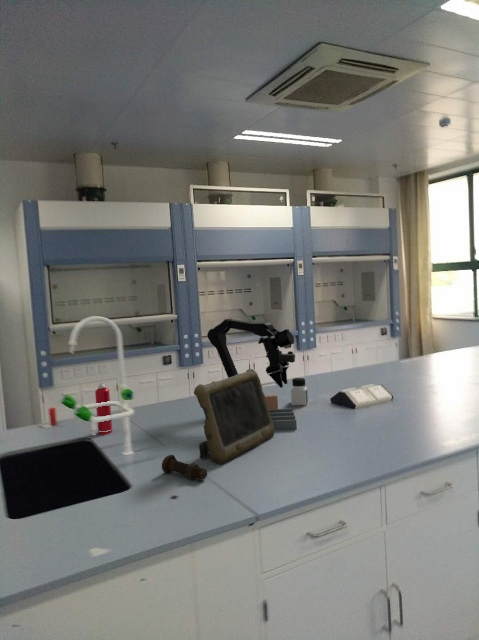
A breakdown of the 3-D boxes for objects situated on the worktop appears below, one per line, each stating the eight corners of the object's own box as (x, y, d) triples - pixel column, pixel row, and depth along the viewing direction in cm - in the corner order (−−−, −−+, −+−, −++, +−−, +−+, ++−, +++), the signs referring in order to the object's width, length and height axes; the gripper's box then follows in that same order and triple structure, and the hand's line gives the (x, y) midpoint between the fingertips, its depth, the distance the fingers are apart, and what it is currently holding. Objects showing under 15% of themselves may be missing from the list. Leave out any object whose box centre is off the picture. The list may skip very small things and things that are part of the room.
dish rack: (260, 430, 173) (259, 421, 172) (259, 418, 189) (259, 409, 189) (296, 429, 172) (296, 420, 172) (293, 416, 189) (292, 408, 189)
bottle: (108, 429, 185) (104, 381, 184) (114, 431, 181) (111, 383, 180) (95, 432, 181) (92, 384, 180) (102, 435, 178) (98, 385, 176)
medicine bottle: (307, 405, 206) (305, 379, 205) (291, 405, 207) (290, 379, 207) (307, 401, 213) (306, 376, 212) (292, 401, 214) (291, 376, 214)
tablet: (229, 467, 139) (224, 388, 137) (193, 460, 146) (189, 385, 145) (277, 435, 167) (273, 369, 165) (245, 430, 174) (241, 367, 172)
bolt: (203, 488, 129) (166, 476, 138) (212, 474, 133) (175, 463, 141) (196, 475, 127) (158, 463, 135) (205, 461, 130) (168, 451, 139)
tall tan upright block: (259, 415, 194) (258, 397, 194) (259, 413, 197) (258, 395, 197) (278, 414, 194) (277, 396, 194) (277, 412, 197) (276, 394, 197)
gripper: (285, 346, 180) (297, 383, 179) (294, 343, 198) (305, 377, 197) (260, 354, 184) (272, 391, 182) (270, 351, 201) (281, 384, 200)
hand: (284, 385), depth 190 cm, fingers open, 9 cm apart
